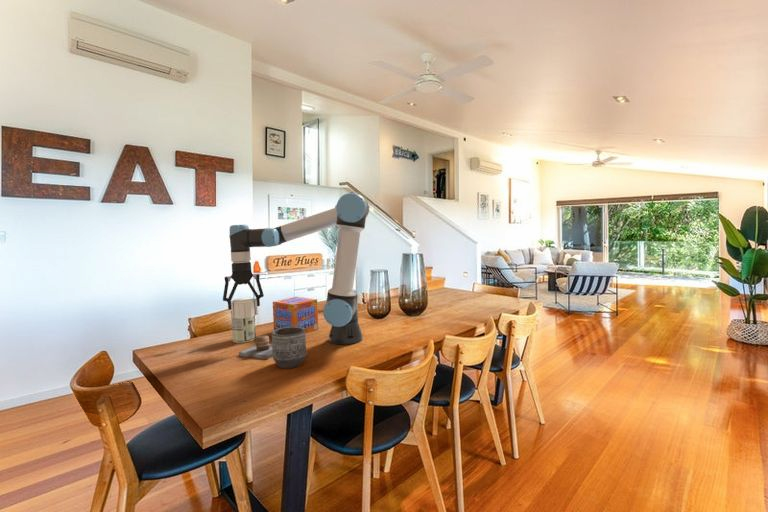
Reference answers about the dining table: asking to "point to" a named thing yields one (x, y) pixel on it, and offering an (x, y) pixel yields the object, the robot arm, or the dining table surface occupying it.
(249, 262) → the robot arm
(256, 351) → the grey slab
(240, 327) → the coffee can
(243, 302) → the cap
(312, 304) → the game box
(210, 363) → the dining table surface
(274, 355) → the planter
